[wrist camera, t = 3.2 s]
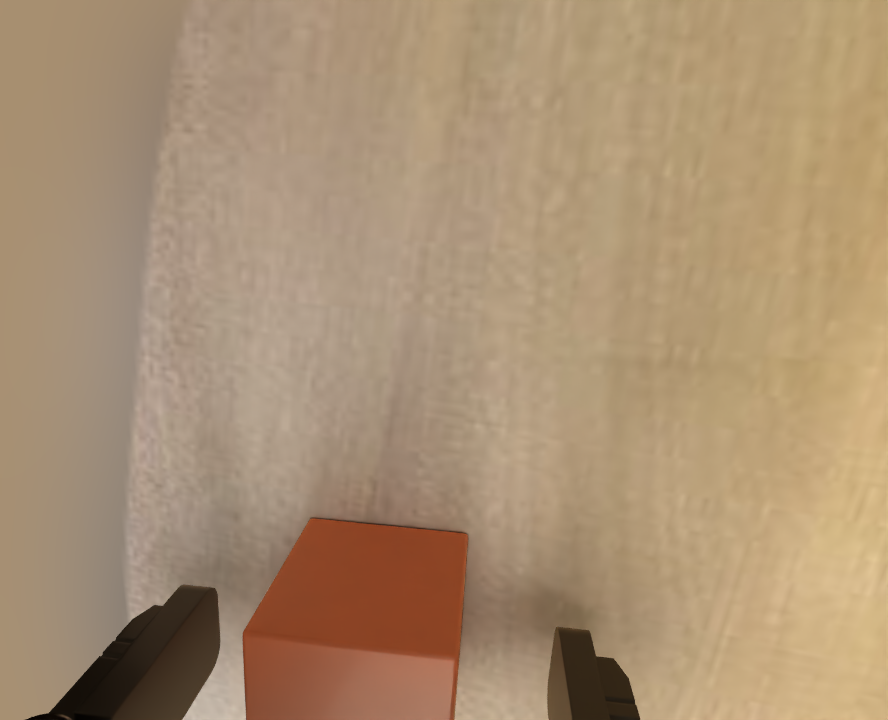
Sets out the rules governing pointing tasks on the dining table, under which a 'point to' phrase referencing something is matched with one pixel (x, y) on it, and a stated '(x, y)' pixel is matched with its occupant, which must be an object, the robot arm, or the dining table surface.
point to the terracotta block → (359, 626)
